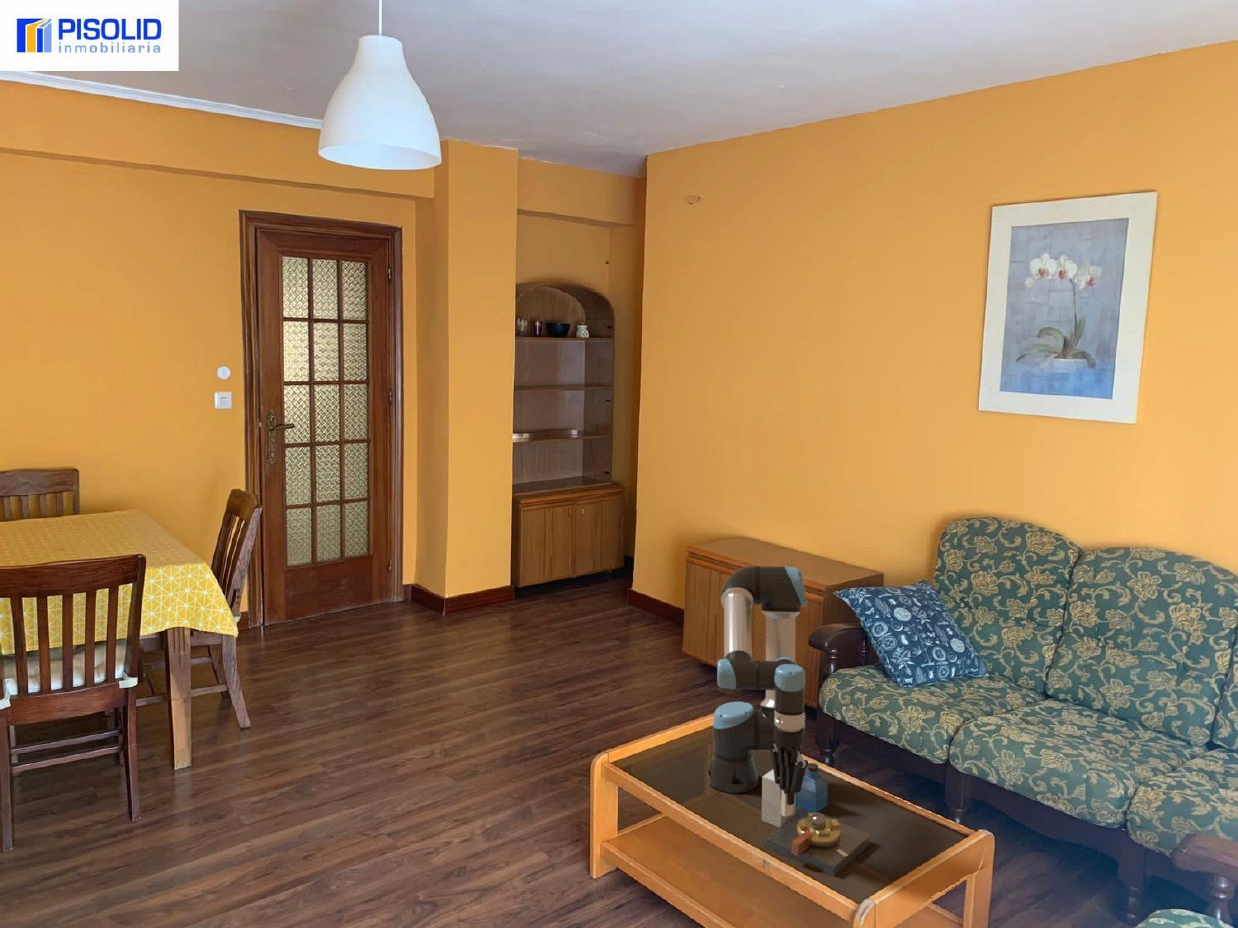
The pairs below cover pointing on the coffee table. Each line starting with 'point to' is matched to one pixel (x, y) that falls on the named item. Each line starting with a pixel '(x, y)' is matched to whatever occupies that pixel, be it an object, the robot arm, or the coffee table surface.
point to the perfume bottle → (812, 790)
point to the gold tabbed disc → (815, 835)
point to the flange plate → (819, 857)
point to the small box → (773, 802)
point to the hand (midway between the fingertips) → (787, 814)
